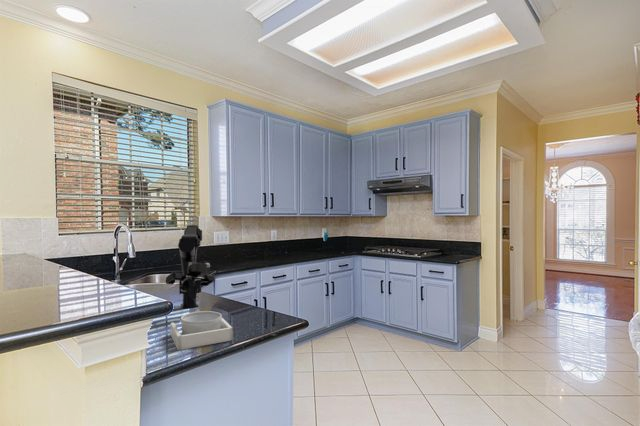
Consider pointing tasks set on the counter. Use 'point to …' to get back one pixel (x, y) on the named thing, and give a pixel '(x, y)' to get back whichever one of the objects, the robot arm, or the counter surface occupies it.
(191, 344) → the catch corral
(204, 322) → the ramekin
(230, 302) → the counter surface
